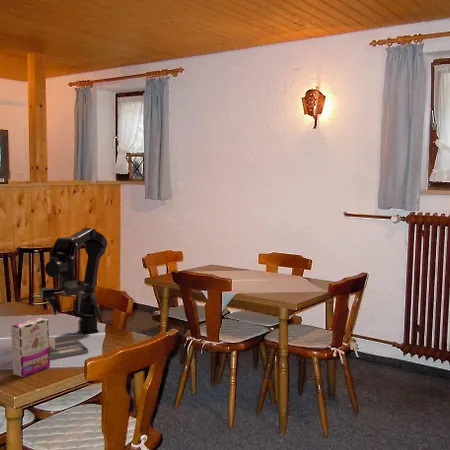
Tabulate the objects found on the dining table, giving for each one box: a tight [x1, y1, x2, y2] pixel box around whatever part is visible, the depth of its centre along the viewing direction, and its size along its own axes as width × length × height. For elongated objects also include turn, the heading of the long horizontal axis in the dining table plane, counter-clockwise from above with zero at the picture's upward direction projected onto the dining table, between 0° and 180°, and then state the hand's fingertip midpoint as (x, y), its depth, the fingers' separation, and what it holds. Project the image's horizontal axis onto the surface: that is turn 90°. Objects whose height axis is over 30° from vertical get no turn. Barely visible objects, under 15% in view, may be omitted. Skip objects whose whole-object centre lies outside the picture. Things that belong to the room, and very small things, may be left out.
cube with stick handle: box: [49, 336, 56, 351], centre depth 191 cm, size 4×8×4 cm, turn 33°
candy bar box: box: [10, 316, 51, 378], centre depth 175 cm, size 11×5×16 cm, turn 148°
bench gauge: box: [49, 339, 89, 360], centre depth 194 cm, size 19×13×5 cm
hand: (67, 313), depth 201 cm, fingers open, 9 cm apart
